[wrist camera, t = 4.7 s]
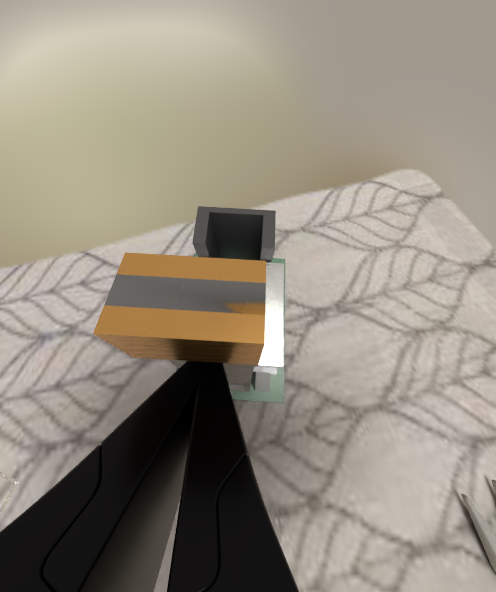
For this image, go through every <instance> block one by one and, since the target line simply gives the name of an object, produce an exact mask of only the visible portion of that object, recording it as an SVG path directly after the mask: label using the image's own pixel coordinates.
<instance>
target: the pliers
mask: <svg viewBox="0 0 496 592" xmlns="http://www.w3.org/2000/svg"><path fill="white" fill-rule="evenodd" d="M492 483H493V487H494V491H495V495H496V481H495V480H492ZM462 497H463V499H464V502H465V504H466V506H467V509H468V511H469V513H470V516H471V518H472V521H473V523H474V525H475V528H476V530H477V532H478V535H479V537H480V539H481V542H482V544H483V547H484V549H485V551H486V554H487V556H488V558H489V561H490V563H491V565H492V567H493V569H494V571H495V573H496V534H495V533H494V532H493V530H492V529H491V528H490V526H489V525H488V524H487V522H486V521H485V520H484V518H483V517H482V516H481V515H480V513H479V512H478V511H477V509H476V508H475V507H474V505H473V504H472V503H471V501H470V500H469V499H468V497H467V496H465V495H464V494H462Z"/></svg>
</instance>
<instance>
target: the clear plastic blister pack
mask: <svg viewBox="0 0 496 592" xmlns="http://www.w3.org/2000/svg"><path fill="white" fill-rule="evenodd" d="M0 476H1V477H3V478H5V479H7V480H9V481H11V482H13V483H14V486H13V487H12V489H11V491H10V493H9V494H8V496H7V498H6V500H5V502H4V503H3V505H2V507H1V509H0V511H1V512H0V515H1V513H2V511H3V509H4V507H5V506H6V504H7V502H8V500H9V499H10V497H11V495H12V493H13V492H14V490H15V488H16V486H17V485H18V483H19V481H17V480H15V479H13V478H11V477H9V476H7V475H5V474H3V473H1V472H0Z"/></svg>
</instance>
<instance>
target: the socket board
mask: <svg viewBox="0 0 496 592" xmlns="http://www.w3.org/2000/svg"><path fill="white" fill-rule="evenodd" d="M275 213H276V211H270V210H252V209H235V208H234V209H233V208H216V207H198V211H197V217H196V224H195V230H194V237H193V245H194V248H195V250H196V253H197V254H194V257H207V258H224V259H241V260H259V261H266V262H268V263H284V309H283V367H277V374H270V373H268V372H253V373H252V378H251V383H250V390H249V392H244V391H231V393H232V397H233V399H234V400H250V401H266V402H282V403H284V325H285V259H276V258H272V257H273V252H274V248H275ZM178 369H179V368H178V367H177V370H178ZM177 370H176V371H177Z"/></svg>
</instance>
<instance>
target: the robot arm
mask: <svg viewBox="0 0 496 592" xmlns="http://www.w3.org/2000/svg"><path fill="white" fill-rule="evenodd" d="M180 496H181V500H180ZM179 500H180V506H179V513H178V520H177V527H176V533H175V540H174V547H173V554H172V561H171V567H170V574H169V581H168V588H167V592H299V590H298V588H297V585H296V583H295V581H294V578H293V576H292V573H291V571H290V568H289V566H288V563H287V561H286V558H285V556H284V553H283V551H282V549H281V546H280V544H279V541H278V539H277V536H276V534H275V531H274V529H273V526H272V523H271V521H270V518H269V515H268V513H267V510H266V507H265V505H264V502H263V499H262V496H261V493H260V490H259V487H258V483H257V480H256V477H255V474H254V471H253V467H252V464H251V460H250V457H249V455H248V450H247V446H246V443H245V439H244V436H243V432H242V429H241V425H240V422H239V418H238V414H237V411H236V407H235V404H234V400H233V397H232V393H231V390H230V386H229V382H228V379H227V375H226V372H225V368H224V365H223V363H215V362H198V361H186V362H185V363H184V364H183V365H182V366H181V367H180V368H179V369H178V370H177V371H176V372H175V373H174V374H173V375H172V376H171V377H170V378H168V379H167V380H166V381H165V382H164V383H163V384H162V385H161V386H160V387H159V388H158V389H157V390H156V391H155V392H154V393H153V394H152V395H151V396H150V397H149V398H148V399H146V400H145V401H144V402H143V403H142V404H141V405H140V406H139V407H138V408H137V409H136V410H135V411H134V412H133V413H132V414H131V415H130V416H129V417H128V418H127V419H126V420H124V421H123V422H122V423H121V424H120V425H119V426H118V427H117V428H116V429H115V430H114V431H113V432H112V433H111V434H110V435H109V436H108V437H107V438H106V439H105V440H104V441H102V443H101V445H98V446H97V447H96V448H95V449H94V450H93V451H92V452H91V453H90V454H89V455H88V456H87V457H86V458H84V459H83V460H82V461H81V462H80V463H79V464H78V465H77V466H76V467H75V468H74V469H73V470H71V471H70V472H69V473H68V474H67V475H66V476H65V477H64V478H63V479H62V480H61V481H60V482H58V483H57V484H56V485H55V486H54V487H53V488H52V489H50V490H49V491H48V492H47V493H46V494H45V495H43V496H42V497H41V498H40V499H39V500H38V501H36V502H35V503H34V504H33V505H32V506H31V507H29V508H28V509H27V510H26V511H25V512H24V513H22V514H21V515H20V516H19V517H18V518H17V519H15V520H14V521H13V522H12V523H11V524H9V525H8V526H7V527H6V528H5V529H3V530H2V531H1V532H0V592H153V591H154V588H155V584H156V581H157V577H158V574H159V570H160V567H161V563H162V559H163V556H164V552H165V549H166V545H167V542H168V538H169V535H170V531H171V528H172V524H173V521H174V517H175V514H176V510H177V507H178V503H179Z"/></svg>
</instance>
